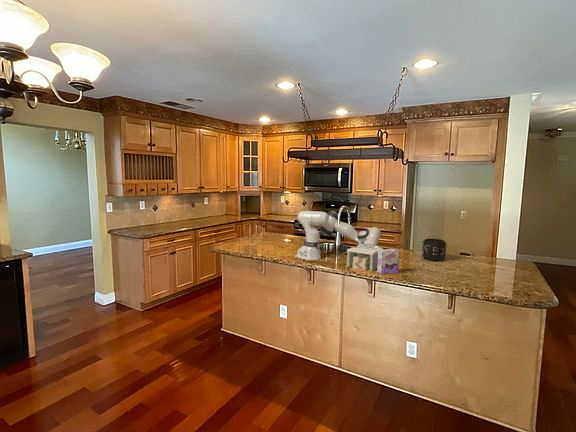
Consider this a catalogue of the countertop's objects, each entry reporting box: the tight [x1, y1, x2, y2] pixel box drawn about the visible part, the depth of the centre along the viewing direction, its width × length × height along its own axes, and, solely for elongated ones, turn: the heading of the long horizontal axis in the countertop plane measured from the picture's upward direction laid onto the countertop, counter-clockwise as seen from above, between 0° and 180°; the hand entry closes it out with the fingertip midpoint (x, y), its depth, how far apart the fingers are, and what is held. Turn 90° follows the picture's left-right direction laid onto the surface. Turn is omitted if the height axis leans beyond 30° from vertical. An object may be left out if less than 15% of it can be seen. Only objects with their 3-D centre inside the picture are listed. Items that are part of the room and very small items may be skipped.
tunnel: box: [346, 246, 378, 272], centre depth 251 cm, size 20×10×13 cm, turn 54°
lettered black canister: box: [421, 238, 447, 263], centre depth 276 cm, size 18×18×16 cm
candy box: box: [376, 248, 400, 275], centre depth 239 cm, size 14×6×16 cm, turn 105°
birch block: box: [352, 254, 370, 271], centre depth 252 cm, size 10×10×8 cm
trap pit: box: [350, 267, 366, 272], centre depth 246 cm, size 10×2×1 cm, turn 54°
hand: (365, 260), depth 256 cm, fingers closed
